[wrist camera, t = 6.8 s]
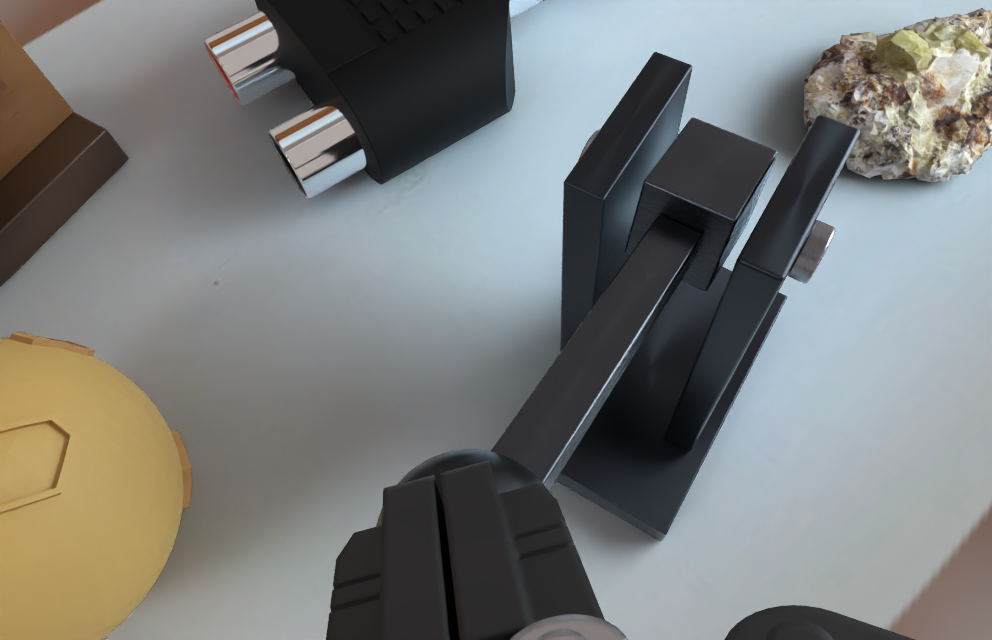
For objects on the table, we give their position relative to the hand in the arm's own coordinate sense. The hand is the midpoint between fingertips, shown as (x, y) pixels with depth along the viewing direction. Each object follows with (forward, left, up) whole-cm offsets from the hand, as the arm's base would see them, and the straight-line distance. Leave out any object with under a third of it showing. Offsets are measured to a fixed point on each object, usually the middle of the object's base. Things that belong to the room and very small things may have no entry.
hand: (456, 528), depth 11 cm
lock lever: (+5, 0, -5) cm, 6 cm away
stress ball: (-5, +14, -15) cm, 21 cm away
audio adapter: (+23, +14, -15) cm, 31 cm away
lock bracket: (+10, 0, -15) cm, 18 cm away
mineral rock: (+27, -4, -15) cm, 31 cm away
